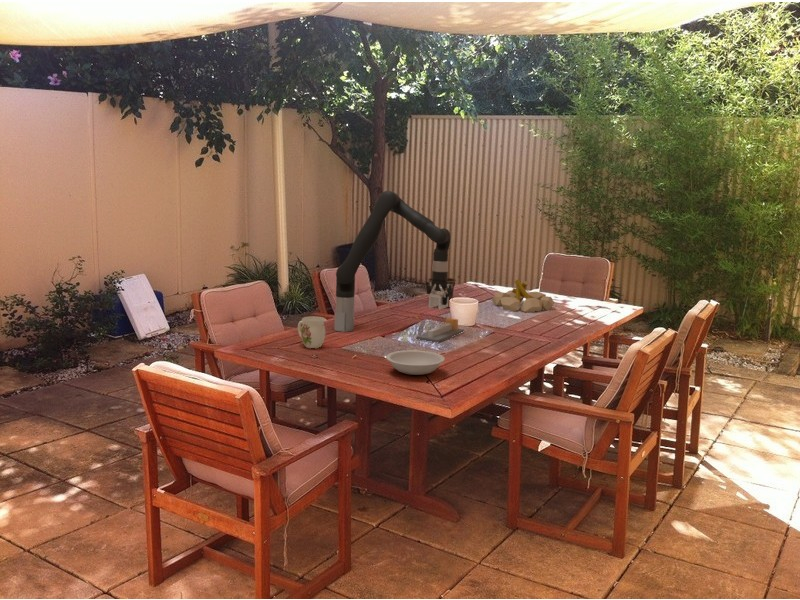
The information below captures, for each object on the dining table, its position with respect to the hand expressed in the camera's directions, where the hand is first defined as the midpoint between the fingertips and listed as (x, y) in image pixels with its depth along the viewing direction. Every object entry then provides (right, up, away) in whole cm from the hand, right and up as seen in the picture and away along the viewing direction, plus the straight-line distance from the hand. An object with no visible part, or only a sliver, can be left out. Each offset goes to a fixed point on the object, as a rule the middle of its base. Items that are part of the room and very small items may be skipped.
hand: (438, 303), depth 382 cm
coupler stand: (+1, -16, +6) cm, 17 cm away
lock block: (0, -2, 0) cm, 2 cm away
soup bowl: (-13, -28, -60) cm, 68 cm away
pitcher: (-59, -20, -22) cm, 67 cm away
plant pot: (+5, -2, +81) cm, 81 cm away
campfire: (+54, -3, +86) cm, 102 cm away
